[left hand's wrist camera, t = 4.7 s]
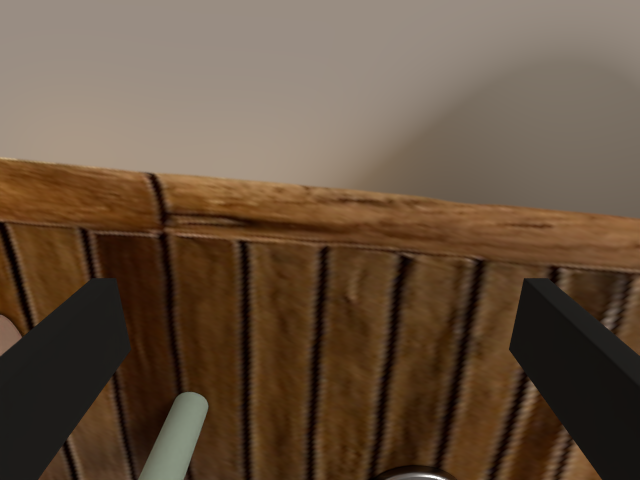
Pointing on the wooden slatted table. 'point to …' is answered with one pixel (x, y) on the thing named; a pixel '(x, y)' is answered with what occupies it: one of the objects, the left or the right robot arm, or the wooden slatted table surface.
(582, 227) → the wooden slatted table surface
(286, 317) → the wooden slatted table surface
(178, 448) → the bottle
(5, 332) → the anatomical model
